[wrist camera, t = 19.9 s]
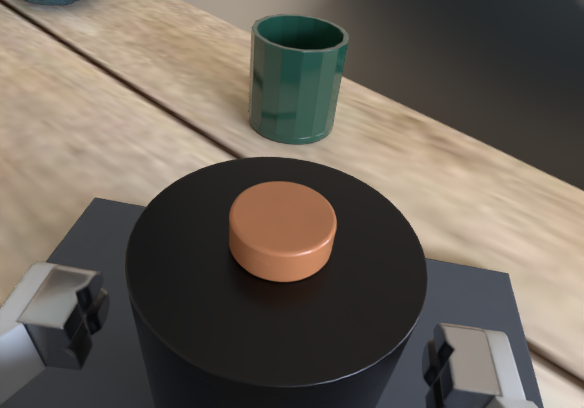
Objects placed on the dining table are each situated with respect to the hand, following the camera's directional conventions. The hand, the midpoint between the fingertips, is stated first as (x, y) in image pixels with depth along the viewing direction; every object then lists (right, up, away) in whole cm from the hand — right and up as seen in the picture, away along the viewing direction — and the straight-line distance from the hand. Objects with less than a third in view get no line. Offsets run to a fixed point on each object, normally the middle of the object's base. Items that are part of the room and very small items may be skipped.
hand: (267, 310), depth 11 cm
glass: (+1, +8, +19) cm, 21 cm away
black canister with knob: (0, -5, +4) cm, 6 cm away
